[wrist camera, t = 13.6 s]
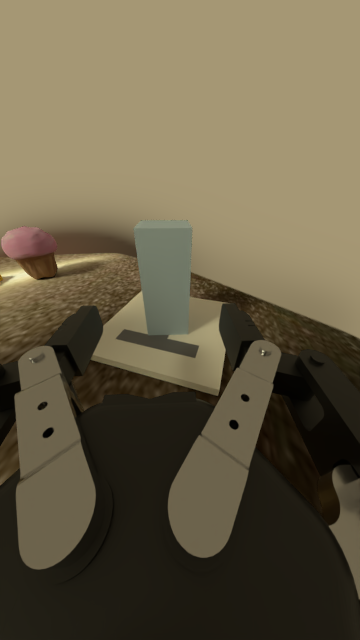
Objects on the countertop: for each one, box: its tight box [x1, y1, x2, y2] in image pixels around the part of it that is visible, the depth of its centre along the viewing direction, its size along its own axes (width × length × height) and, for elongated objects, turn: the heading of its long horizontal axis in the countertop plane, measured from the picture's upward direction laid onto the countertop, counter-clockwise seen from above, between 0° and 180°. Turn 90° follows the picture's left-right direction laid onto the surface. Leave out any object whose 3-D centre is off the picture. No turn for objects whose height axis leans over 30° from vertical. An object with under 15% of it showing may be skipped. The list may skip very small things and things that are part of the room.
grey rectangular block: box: [134, 220, 192, 335], centre depth 21 cm, size 5×5×12 cm
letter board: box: [90, 291, 226, 396], centre depth 25 cm, size 16×16×1 cm
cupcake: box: [1, 226, 58, 279], centre depth 37 cm, size 9×9×10 cm
